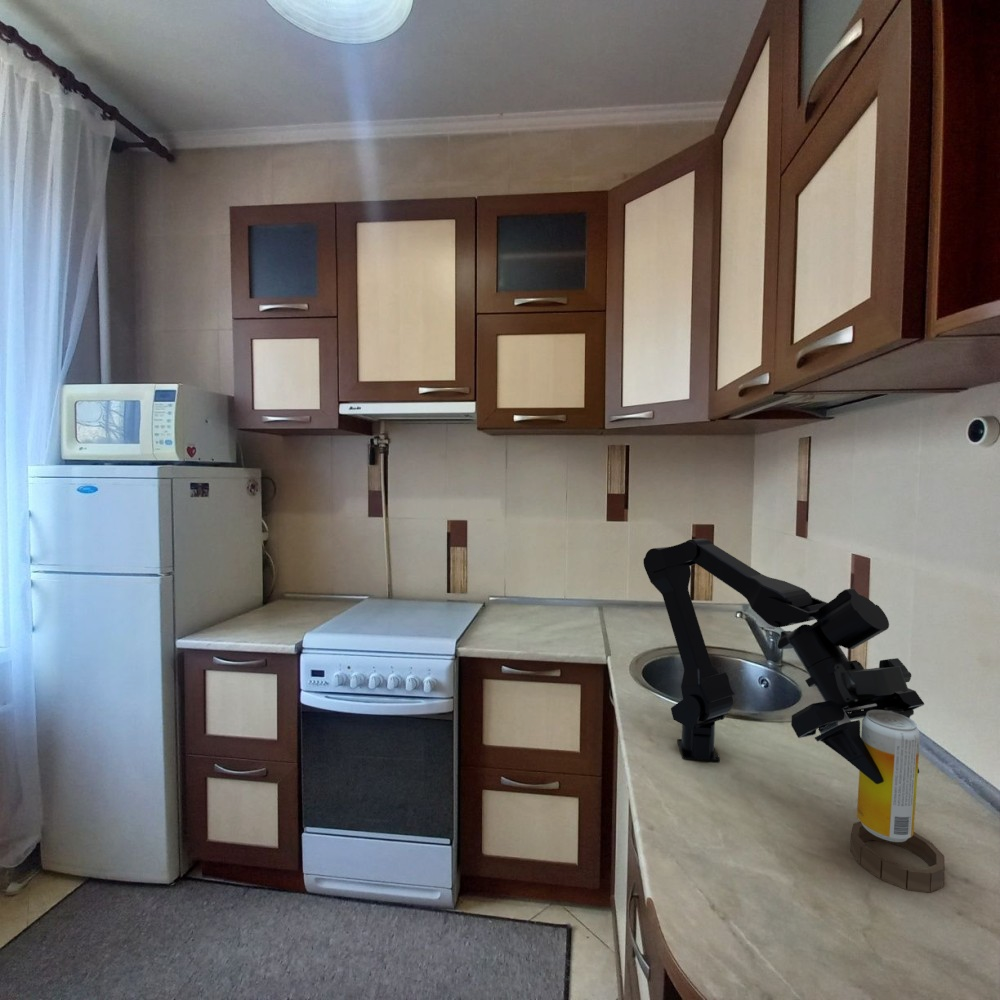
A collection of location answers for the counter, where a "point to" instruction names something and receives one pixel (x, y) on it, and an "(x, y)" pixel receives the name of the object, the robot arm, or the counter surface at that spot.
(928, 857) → the collar
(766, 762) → the counter surface
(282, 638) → the counter surface
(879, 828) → the beer can
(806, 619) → the robot arm
